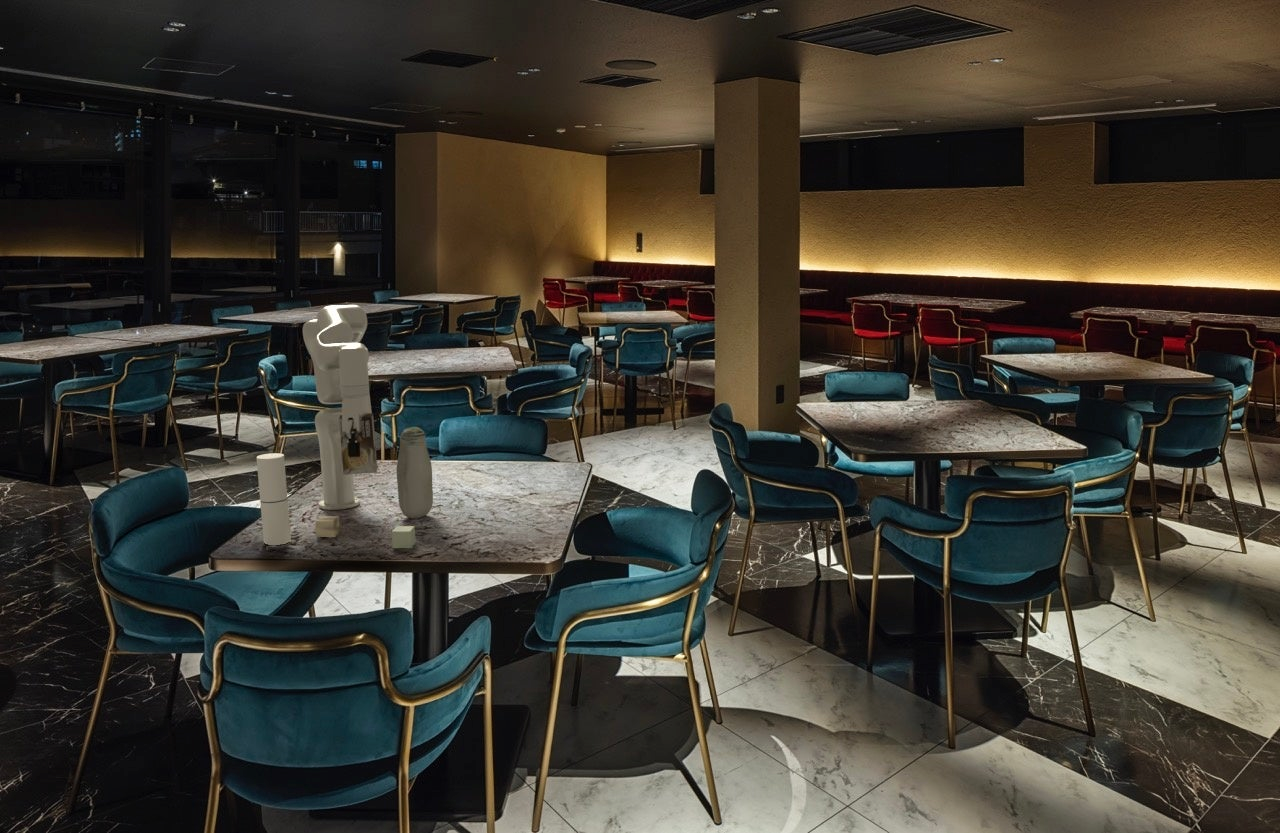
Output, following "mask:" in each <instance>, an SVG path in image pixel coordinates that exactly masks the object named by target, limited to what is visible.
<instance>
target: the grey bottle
mask: <svg viewBox="0 0 1280 833" xmlns="http://www.w3.org/2000/svg"><path fill="white" fill-rule="evenodd" d="M399 442H400V443H399V449H398V450H399V451H398V455H397V456H398V457H397V461H396V482H397V496H398V505H399V508H400V511H401V513H402V514H403V515H404V516H405V517H406V518H409V519H413V520H414V519H415V520H417V519H421V518H423V517H426V516H427V515H428V514H429V513H430V511H431V510H432V508H433V502H434V495H433V494H434V493H433V491H434V490H433V467H432V466H433V465H432V462H431V458H430V453H429V451H428V446H427V440H426V434H425V431H424V430H422V429H421V428H420V427H417V426H413V427H412V426H411V427H407V428H405V429H404V430H403V431H402V432H401V434H400V437H399Z"/></svg>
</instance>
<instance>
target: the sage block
mask: <svg viewBox="0 0 1280 833" xmlns="http://www.w3.org/2000/svg"><path fill="white" fill-rule="evenodd" d="M415 528H416V527H415V525H402V526H401V525H400V526H399V525H397V526H395V528H393V530H392V531H391V541H392V544H391V545H392V549H393V548H411V547H412V546H413V545H414V546H415V545H416V541H417V540H416V530H415ZM414 546H413V547H414ZM413 547H412V548H413ZM412 548H411V549H412Z"/></svg>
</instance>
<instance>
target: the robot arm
mask: <svg viewBox="0 0 1280 833" xmlns="http://www.w3.org/2000/svg"><path fill="white" fill-rule="evenodd" d="M367 328H368V317H367V314H366V311H365V310H364V308H363V307H362V306H360V305H357V304H347V305H346V304H342V305H341V304H340V305H338V304H337V305H328V306H327V305H326V306H324V307H323V308H321V309H320V310H319V311H318V312H317V314H316V319H311V320H308V321H306V322H305V323H304V324H303V326H302V336H303V342H304V344H305V347H306V349H307V352H308V353H309V355H310V357H311V360H312V365H313V372H314V380H315V382H314V383H315V389H316V396H317V399H318V401H319V402H320V403H321V404H324V405H338V404H340V405H341V407H335V408H334V407H332V408H331V407H330V408H326V409H322V410H320V411H318V412H317V413H316V415H315V418H314V425H315V430H316V435H317V440H318V444H319V445H318V446H319V452H320V454H319V455H320V467H321V468H320V469H321V480H322V495H323V500H321V501H320V502H319V503H318V506H319V508H320V509H322V510H327V511H328V510H329V511H337V510H346V509H351V508H355V507H357V506H358V505H360V503H361V499H360V498H358V497H355V491H356V487H355V484H354V474H348V475H343V465H342V452H341V440H340V428H339V418H340V415H342V431H343V432H344V433H346V435H347V436H346V437H347V443H348V456H349V457H359V456H360V442H358V439H359V433H360V432H361V431H362V417H364V416H365V415H367V414H369V413H372V405H371V396H370V383H369V382H370V381H369V361H370V360H369V359H370V354H369V350H368V348H367V347H366V345H365V344H363V343H361V341H362V339H363V337H364V335H365V332H366V330H367ZM352 428H353V429H357V430H356V431H352ZM354 434H356V435H355V436H354Z"/></svg>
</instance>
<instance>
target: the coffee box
mask: <svg viewBox="0 0 1280 833" xmlns="http://www.w3.org/2000/svg"><path fill="white" fill-rule="evenodd" d="M374 420H375V419H374V413H369V414H367V415H365V416H364V417H362V431H361V432H360V433H359V439H358V442H360V456H359V457H349V456H348V443H347V437H346V436H347V435H346V433H344V432H343V431H342V415H340V418H339V428H340V440H341V452H342V465H343V475H348V474H353V475H360V474H376V473H377V472H378V461H377V448H376V447H377V444H376V436H375V435H376V434H375V432H376V431H375V421H374ZM356 430H357V429H353V428H352V431H356ZM355 435H356V434H354V436H355Z"/></svg>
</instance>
